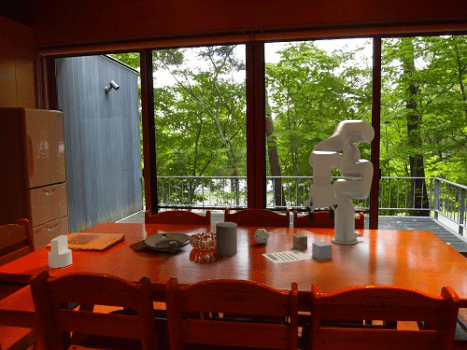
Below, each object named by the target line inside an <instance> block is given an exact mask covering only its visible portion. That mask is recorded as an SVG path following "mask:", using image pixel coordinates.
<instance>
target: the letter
mask: <svg viewBox="0 0 467 350" xmlns="http://www.w3.org/2000/svg"><path fill="white" fill-rule="evenodd" d="M261 255H262V256H263V257H265V258H266V259H267V260H269V261H270V262H272V263H274V265H275V264H276V265H277V264H282V263H283V264H284V263H289V262H297V261H298V262H299V261H304V260H312V259H313V257H311V256H309V255H308V254H305V253H304V252H302V251H301V250H298V249H294V250H289V251H287V250H286V251H280V252H278V251H277V252H269V253H262V254H261Z"/></svg>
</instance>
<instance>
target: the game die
mask: <svg viewBox="0 0 467 350" xmlns="http://www.w3.org/2000/svg"><path fill="white" fill-rule="evenodd" d="M270 236H272V234H270V233H269V232H268V231H267V230H266V227H264V228H258V229H257V228H256V227H255V232H254V235H253V236H252V237H251V238H252V239H254V240H255V242H256V243H257V246H259V244H267V245H268V240H269V238H270Z"/></svg>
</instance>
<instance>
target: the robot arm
mask: <svg viewBox="0 0 467 350" xmlns="http://www.w3.org/2000/svg"><path fill="white" fill-rule="evenodd" d="M374 138H375V130H374V127H373V126H372V125H371V124H370V123H368V122H367V121H365V120H363V119H362V120H361V119H360V120H358V119H357V120H355V119H354V120H353V119H352V120H342V121H340V122H339V123H338V124H337V125H336V127H335V129H334V131H333V132H332V134H331V136H330V137H327V138H326V139H323V140H322V141H320V142H319V143H317V144H315V146H314V148H312V151H311V153H310V154H309V159H308V162H309V165H310V166H311V167H312V184H310V186H309V187H310V188H309V195H308V199H307V200H305V201H303V202H302V204H303V206H304V209H305V210H306V211H307V212H308V220H309V221H310V222H311V223H314V222H315V210H316V209H322V208H328V209H329V210H328V220H331V221H334V237H331V242H332V243H334V244H336V245H337V244H339V245H344V246H345V245H355V244H357V243H358V238H361V237H363V233H362V232H356V231H355V226H356V224H355V220H356V218H355V217H356V216H355V214H356V208H355V205H354V203H353V201H352V200H351V199H353V200H354V199H355V200H366V199H368V198H369V196H370V193H371V189H372V188H371V187H372V181H373V176H374V166H373V165H374V164H373V163H372V162H371V161H370V160H367V159H361V155H362V154H361V151H360V149H359V147H358V146H357V145H356V144H355V143H371V142H372V141H373V140H374ZM340 151H342V154H341V153H339V152H340ZM338 168H339V170H340V171H339V174H340V176H341V177H342V178H339V179H335V181H334V179H333V177H332V176H331V175H332V171H331V170H332V169H333V170H336V169H338ZM332 182H333V184H332Z"/></svg>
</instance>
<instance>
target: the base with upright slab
mask: <svg viewBox="0 0 467 350" xmlns="http://www.w3.org/2000/svg"><path fill="white" fill-rule="evenodd" d="M68 243H69V242H68V235H66V234H61V235H59V236H56V237H54V238H53V239H51V240H50V251H48V253H47V256H48V268H49V267H52V268H58V267H65V266H68V265H70V264H72V265H73V255H72V254H73V253H72V249H70V248H69V246H68Z"/></svg>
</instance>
